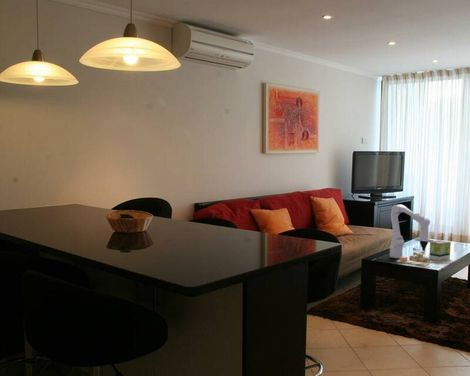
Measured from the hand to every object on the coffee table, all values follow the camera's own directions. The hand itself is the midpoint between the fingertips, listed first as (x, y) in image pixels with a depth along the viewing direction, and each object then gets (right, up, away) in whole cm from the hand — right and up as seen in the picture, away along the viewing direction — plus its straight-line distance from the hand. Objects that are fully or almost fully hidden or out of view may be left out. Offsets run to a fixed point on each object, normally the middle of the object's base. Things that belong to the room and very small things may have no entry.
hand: (423, 250), depth 374 cm
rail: (-10, -10, -3) cm, 14 cm away
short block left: (-6, -9, +7) cm, 13 cm away
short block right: (+2, -10, 0) cm, 10 cm away
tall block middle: (-2, -9, +4) cm, 10 cm away
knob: (-16, -8, +1) cm, 18 cm away
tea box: (+19, -9, +14) cm, 25 cm away
